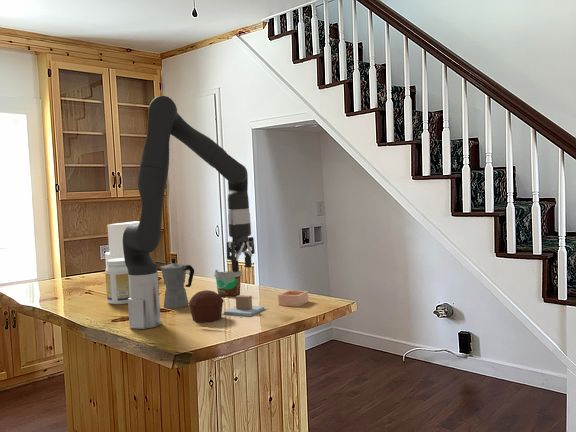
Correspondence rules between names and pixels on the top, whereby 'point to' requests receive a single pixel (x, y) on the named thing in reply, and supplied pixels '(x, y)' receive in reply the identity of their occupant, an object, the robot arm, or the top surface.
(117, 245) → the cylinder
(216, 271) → the food container
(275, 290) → the top surface
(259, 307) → the lid
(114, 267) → the supplement tub
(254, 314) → the mat
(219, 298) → the muffin
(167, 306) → the coffeepot
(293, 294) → the dish
